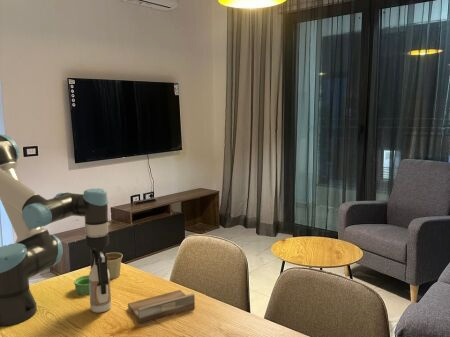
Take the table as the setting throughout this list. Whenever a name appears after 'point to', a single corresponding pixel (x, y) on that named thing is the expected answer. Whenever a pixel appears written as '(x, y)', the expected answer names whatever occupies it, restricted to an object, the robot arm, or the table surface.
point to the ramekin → (82, 285)
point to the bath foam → (94, 292)
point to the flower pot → (114, 264)
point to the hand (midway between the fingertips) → (100, 297)
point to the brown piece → (161, 306)
